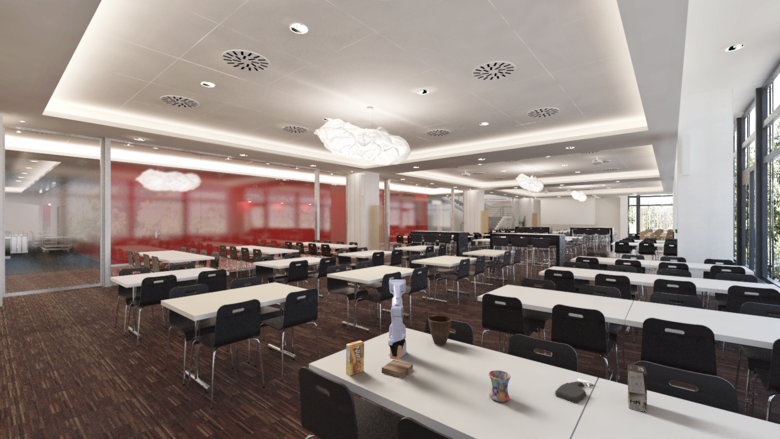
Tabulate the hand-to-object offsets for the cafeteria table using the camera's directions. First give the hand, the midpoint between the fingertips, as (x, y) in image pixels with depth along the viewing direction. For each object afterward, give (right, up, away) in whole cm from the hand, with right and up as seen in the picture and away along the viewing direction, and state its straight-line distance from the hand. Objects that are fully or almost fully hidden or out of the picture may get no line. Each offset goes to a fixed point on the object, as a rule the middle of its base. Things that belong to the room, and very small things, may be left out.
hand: (397, 354), depth 184 cm
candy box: (-22, -9, -2) cm, 24 cm away
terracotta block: (0, -2, 0) cm, 2 cm away
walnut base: (0, -9, 0) cm, 9 cm away
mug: (+46, -9, -27) cm, 54 cm away
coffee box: (+102, -9, -34) cm, 108 cm away
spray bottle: (+83, -9, -21) cm, 86 cm away
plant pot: (+28, -8, +40) cm, 50 cm away
